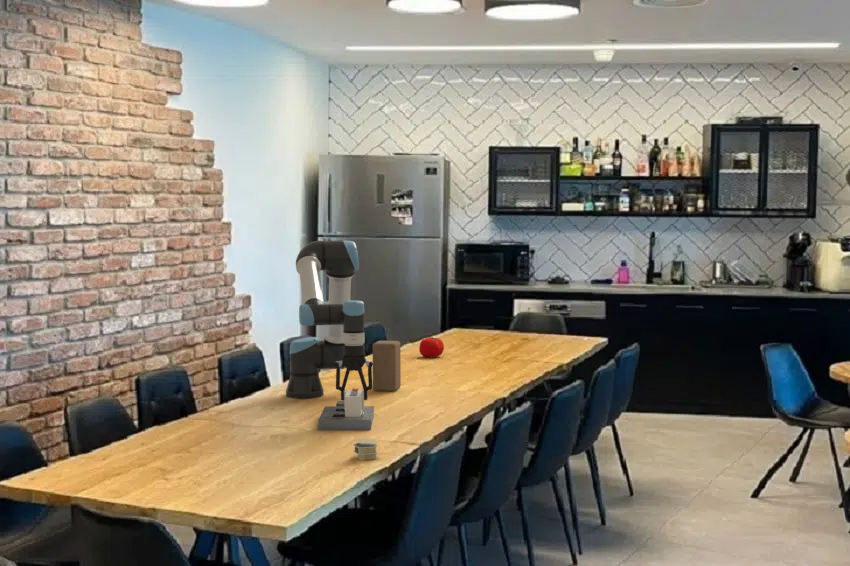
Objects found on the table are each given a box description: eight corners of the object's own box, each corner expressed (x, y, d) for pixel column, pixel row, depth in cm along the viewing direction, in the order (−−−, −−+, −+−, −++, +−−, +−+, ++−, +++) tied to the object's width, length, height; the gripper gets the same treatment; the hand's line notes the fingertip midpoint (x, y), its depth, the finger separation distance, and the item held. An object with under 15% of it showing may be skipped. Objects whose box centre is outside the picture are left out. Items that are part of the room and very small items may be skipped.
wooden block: (395, 392, 430) (395, 343, 428) (372, 391, 432) (371, 343, 430) (401, 387, 439) (400, 340, 438) (378, 387, 441) (377, 340, 440)
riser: (336, 412, 388) (336, 403, 388) (337, 409, 394) (337, 400, 394) (349, 412, 388) (349, 403, 388) (350, 409, 394) (350, 400, 394)
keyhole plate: (318, 430, 358) (318, 419, 358) (325, 415, 382) (324, 406, 382) (370, 429, 358) (370, 419, 358) (374, 415, 382) (374, 406, 382)
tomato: (416, 356, 529) (416, 336, 528) (440, 355, 533) (440, 335, 532) (423, 359, 518) (422, 339, 517) (447, 358, 522) (447, 338, 521)
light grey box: (345, 425, 363) (344, 394, 363) (348, 417, 377) (348, 387, 377) (360, 425, 363) (360, 394, 363) (363, 417, 377) (363, 387, 377)
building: (380, 454, 325) (380, 437, 325) (382, 461, 316) (382, 443, 316) (348, 455, 324) (348, 438, 323) (349, 462, 315) (349, 444, 314)
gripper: (326, 345, 364) (327, 411, 366) (379, 345, 364) (379, 411, 366) (328, 342, 372) (329, 407, 374) (380, 342, 372) (380, 407, 374)
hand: (354, 409), depth 370 cm, fingers closed on light grey box, 5 cm apart
